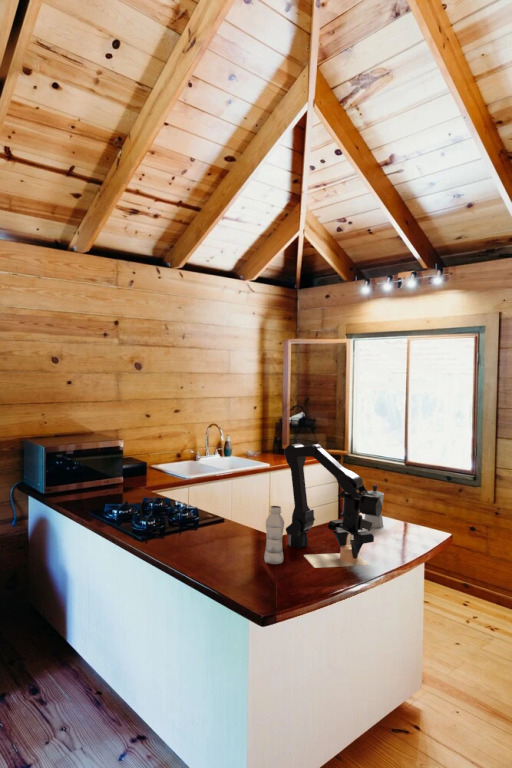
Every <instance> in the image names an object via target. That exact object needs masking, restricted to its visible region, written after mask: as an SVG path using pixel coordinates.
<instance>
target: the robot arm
mask: <svg viewBox="0 0 512 768" xmlns="http://www.w3.org/2000/svg"><path fill="white" fill-rule="evenodd" d="M283 452H284V457H285V460H286V464H287V466H288V467H289V468H290V473H291V474H290V475H291V483H292V492H293V493H292V494H293V503H294V504H293V505H294V508H293V511H292V515H291V524H289V525H288V526H286V527H285V532H286V535H288V541H287V542H288V543H287V545H288V546H289V547H290V548H295V549H303V548H306V547H308V545H309V537H308V532H309V531H310V529H312V527H313V526H314V523H315V522H314V521H316V518H315V510H314V509H310V507H309V505H308V498H307V497H308V496H307V487H306V479H305V470H304V466H305V464H306V460H307V457H309V456H311V457H313V458H314V459H315V460H316V461H317V462H318V463H319V464H320V465H321V466H322V467H323V468H325V469H326V470H327V471H328V472H329V473H330V474H332V476H333V477H334V478H335V479H336V482H337V484H338V485H339V487H340V488H341V489H342V491H341V492H340V493H339V494H337V497H338V498H342V499H343V501H342V503H343V504H342V512H340V514H339V516H340V517H341V518H342V519H334V520H333V519H332V520H330V521H329V522H328V523H327V527H328V528H327V529H328V530H331V531H332V533H333V535H334V537H335V539H336V541H337V543H338V546H339V549H340V548H341V546H342V545H347V541H348V540H347V539H348V536H349V534H350V535H352V538H353V539H350V540H349V541H350V545H351V548H352V554H353V558H354V559H356V558H357V556H358V555H359V553H360V550H361V549H362V547H363V545H364V544H370V543H374V542H375V535H374V534H373V533H371V530H372V528H371V527H372V524H373V523H372V522H370V521H367V520H365V519H364V518H363V515H365V514H366V515H370V516H375V517H379V516H380V515H381V512H382V511H383V504H382V503H381V501H380V497H379V496H371V495H369V493H368V492H367V491H368V490H367V488H366V486H365V485H364V482H363V481H364V480H363V478H362V476H360V475H358V474H357V473H355V472H354V471H352V470H349V469H348V468H345V467H344V466H343V465H342V464H340V463H339V462H338V461H337V460H336V459H335V458H334V457H333V456H331V454H330V453H328V452H327V451H326V450H325V449H324V448H323V447H322V446H321V445H320V444H319V443H315V444H309V445H308V444H307V445H303V444H302V443H294V444H289V445H287V446H286V447H285V449H284V451H283ZM360 513H361V514H360Z"/></svg>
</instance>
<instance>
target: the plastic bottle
mask: <svg viewBox="0 0 512 768" xmlns="http://www.w3.org/2000/svg"><path fill="white" fill-rule="evenodd" d="M269 513H270V514H269V515H268V516H267V517H266V519H265V530H266V531H265V532H266V541H265V542H266V543H265V551H264V556H263V557H264V558H263V559H264V562H265V563H266V565H268V564H269V565H270V564H271V565H279V564H280V565H281V564H282V563H283V562H284V552H283V536H284V527H285V520H284V518H283V516H282V515H281V513H282V507H281V506H280V505H270V507H269Z"/></svg>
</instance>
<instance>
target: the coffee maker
mask: <svg viewBox="0 0 512 768" xmlns="http://www.w3.org/2000/svg"><path fill="white" fill-rule="evenodd" d="M367 492H368V493H369V495H371V496H379V497H380V501H381V503H382V505H383V504H384V503H383V502H384V499H385V498H384V497H385V493H384V492H381V491H378V485H376V484H375V485H374V484H373V485H372V490H367ZM363 519H365V520H367V521H370V522H372V523H373V524H372V527H371V529H382V528H383V527H384V521H383V513H382V512H381V515H380V516H379V517H375V516H370V515H366V514H364V518H363ZM381 527H382V528H381Z"/></svg>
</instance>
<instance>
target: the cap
mask: <svg viewBox="0 0 512 768" xmlns="http://www.w3.org/2000/svg"><path fill="white" fill-rule="evenodd" d="M339 549H340V551H339V553H340V559H341V560H343V561H345V562H351V563H352V562H357V561H358V556H357V558H356V559H354V558H353V554H352V548H351V544H346V545H342V546H341V548H340V547H339Z"/></svg>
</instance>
